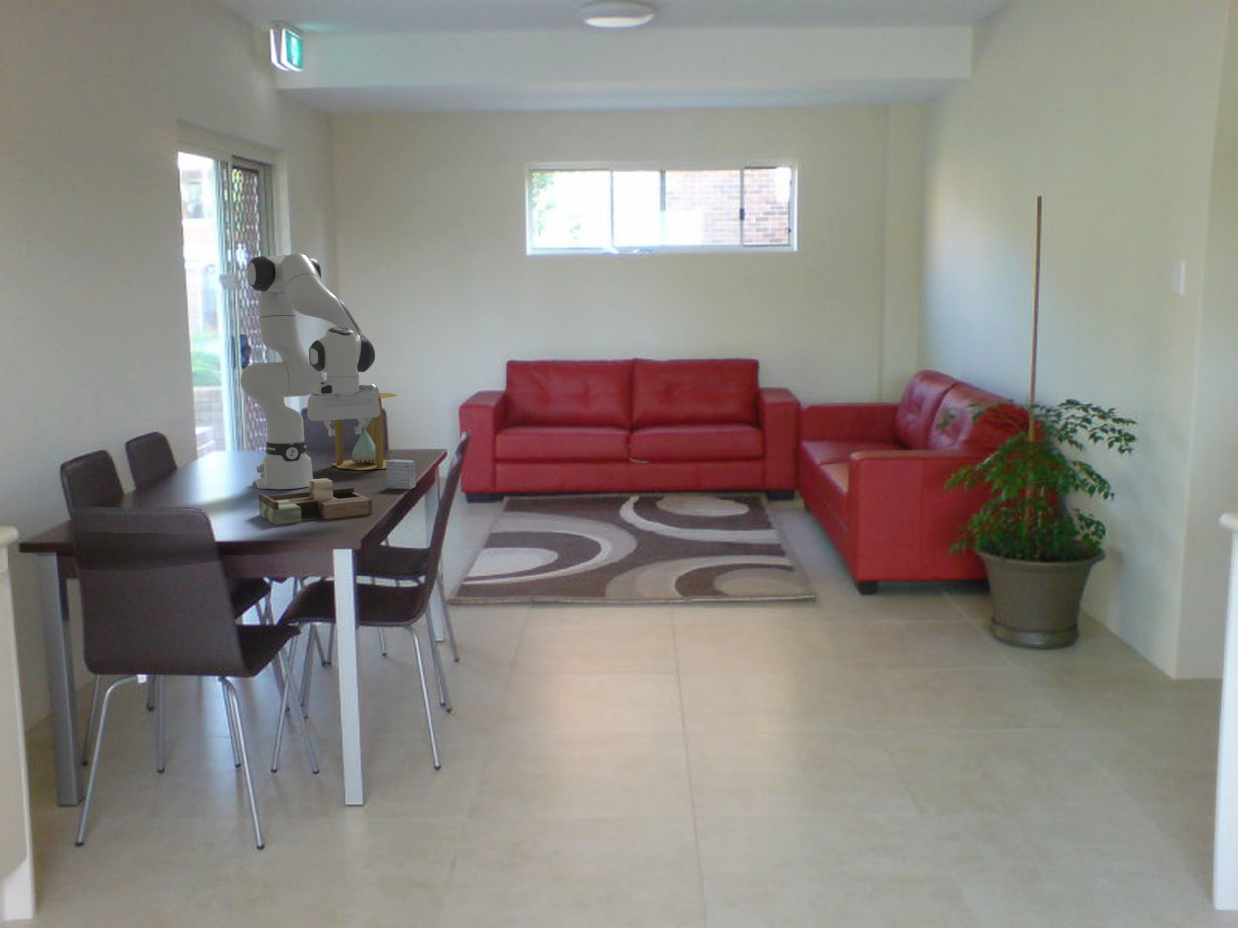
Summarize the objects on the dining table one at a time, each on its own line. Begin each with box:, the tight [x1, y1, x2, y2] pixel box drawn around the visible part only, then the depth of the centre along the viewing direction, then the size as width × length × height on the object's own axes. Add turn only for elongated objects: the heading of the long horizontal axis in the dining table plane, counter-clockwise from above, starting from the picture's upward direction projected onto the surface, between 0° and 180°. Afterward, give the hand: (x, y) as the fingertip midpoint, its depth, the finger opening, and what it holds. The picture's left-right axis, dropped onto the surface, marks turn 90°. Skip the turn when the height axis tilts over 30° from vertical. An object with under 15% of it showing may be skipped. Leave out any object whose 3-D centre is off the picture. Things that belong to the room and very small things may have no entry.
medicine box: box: [385, 459, 417, 490], centre depth 369 cm, size 8×4×9 cm, turn 74°
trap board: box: [258, 487, 373, 526], centre depth 330 cm, size 15×27×6 cm, turn 122°
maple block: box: [308, 477, 334, 500], centre depth 332 cm, size 5×5×5 cm
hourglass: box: [331, 392, 399, 471], centre depth 410 cm, size 24×22×25 cm
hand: (345, 435), depth 334 cm, fingers open, 6 cm apart
